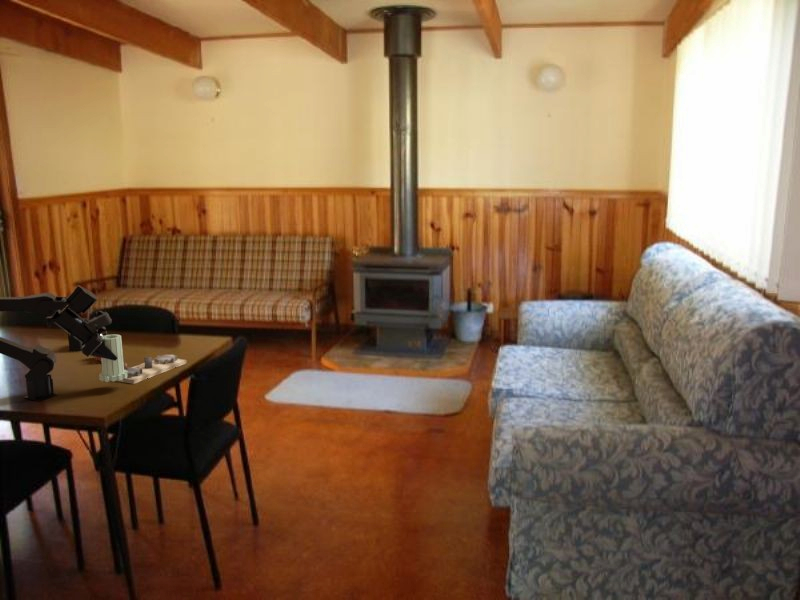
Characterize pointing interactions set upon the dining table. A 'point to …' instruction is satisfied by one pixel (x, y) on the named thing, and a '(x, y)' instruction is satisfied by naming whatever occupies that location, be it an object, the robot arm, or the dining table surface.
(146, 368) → the gear board
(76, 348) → the digital camera
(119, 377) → the gear sleeve
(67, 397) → the dining table surface
